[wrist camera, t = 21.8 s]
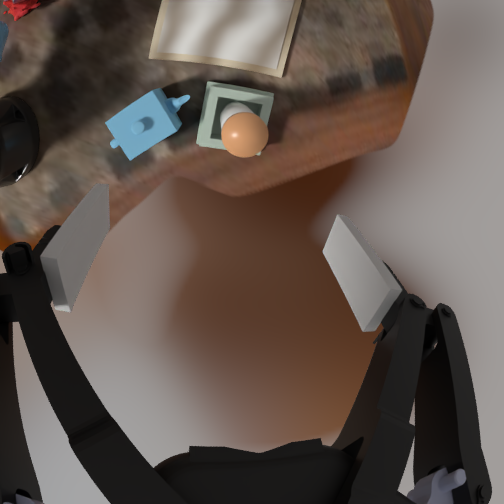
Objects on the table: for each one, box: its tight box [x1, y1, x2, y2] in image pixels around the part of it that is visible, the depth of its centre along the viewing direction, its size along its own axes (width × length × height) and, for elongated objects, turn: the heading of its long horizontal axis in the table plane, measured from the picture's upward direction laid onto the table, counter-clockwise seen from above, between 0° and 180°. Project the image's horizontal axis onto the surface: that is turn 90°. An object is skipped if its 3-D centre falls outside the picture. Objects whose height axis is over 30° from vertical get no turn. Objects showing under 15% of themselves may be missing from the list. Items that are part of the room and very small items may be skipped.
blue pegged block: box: [105, 88, 190, 160], centre depth 32 cm, size 12×6×8 cm, turn 116°
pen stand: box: [196, 81, 274, 155], centre depth 35 cm, size 9×9×4 cm
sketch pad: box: [149, 0, 302, 78], centre depth 27 cm, size 18×14×1 cm
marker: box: [220, 102, 268, 157], centre depth 30 cm, size 4×4×14 cm
